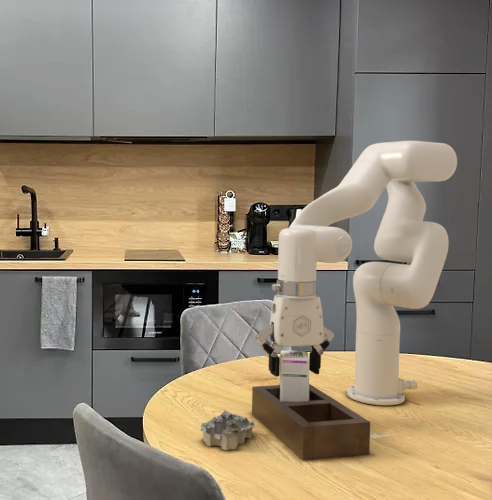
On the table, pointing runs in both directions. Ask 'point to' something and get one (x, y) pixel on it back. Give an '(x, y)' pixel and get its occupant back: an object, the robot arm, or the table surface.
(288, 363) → the syrup box
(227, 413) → the egg carton
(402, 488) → the table surface
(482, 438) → the table surface
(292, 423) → the holder
